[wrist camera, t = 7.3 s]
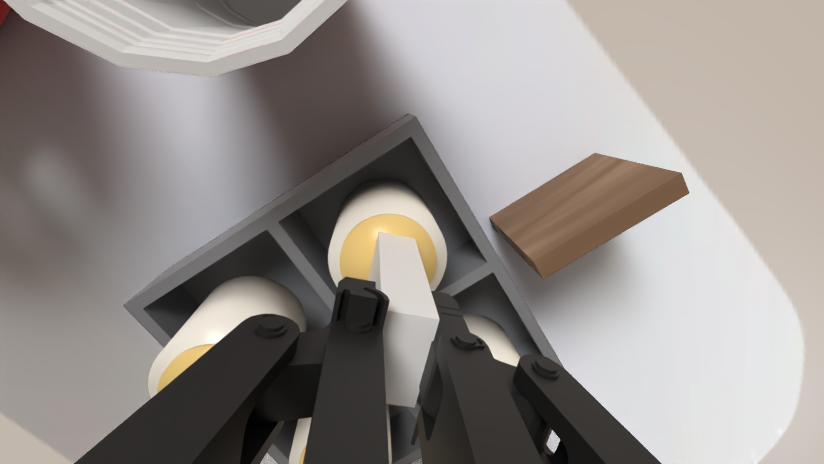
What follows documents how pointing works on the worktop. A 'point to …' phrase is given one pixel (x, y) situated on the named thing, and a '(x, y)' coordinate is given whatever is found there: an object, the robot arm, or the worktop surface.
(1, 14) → the plant pot
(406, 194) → the button
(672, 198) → the placard
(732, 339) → the worktop surface
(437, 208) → the button board
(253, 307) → the button
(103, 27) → the plastic cup
